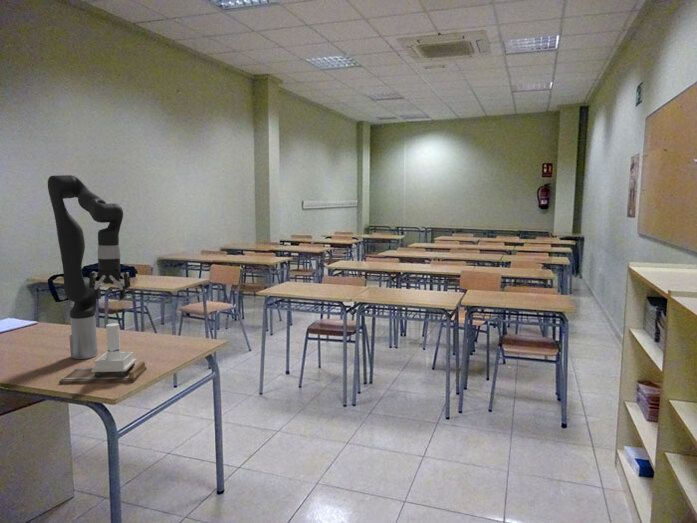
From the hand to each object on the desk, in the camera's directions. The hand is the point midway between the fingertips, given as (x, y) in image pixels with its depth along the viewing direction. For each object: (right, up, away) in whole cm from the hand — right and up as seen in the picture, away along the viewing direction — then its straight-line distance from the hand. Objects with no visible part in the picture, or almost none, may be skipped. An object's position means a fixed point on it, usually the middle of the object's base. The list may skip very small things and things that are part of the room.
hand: (110, 299), depth 189 cm
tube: (+3, -24, -3) cm, 25 cm away
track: (-1, -29, -3) cm, 29 cm away
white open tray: (+3, -27, -3) cm, 28 cm away
